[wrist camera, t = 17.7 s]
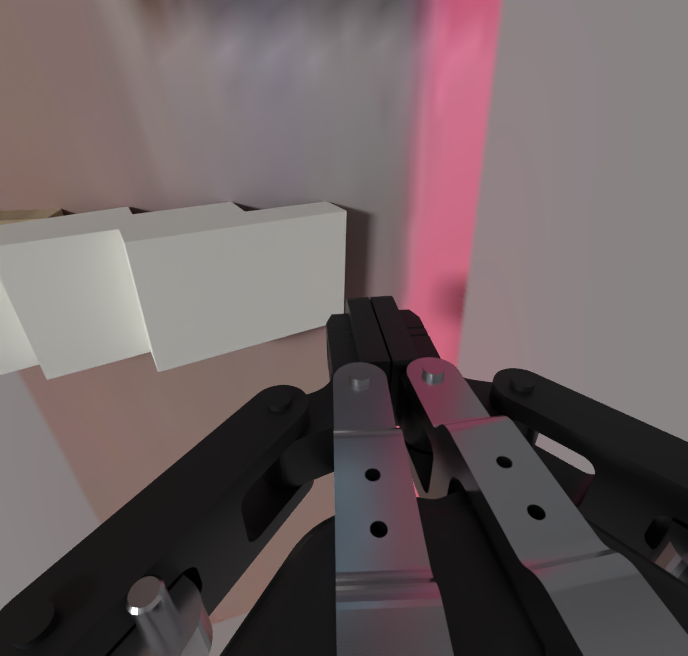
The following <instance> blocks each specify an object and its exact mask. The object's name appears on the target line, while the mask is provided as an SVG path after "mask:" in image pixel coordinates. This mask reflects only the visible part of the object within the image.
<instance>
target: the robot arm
mask: <svg viewBox="0 0 688 656" xmlns="http://www.w3.org/2000/svg"><path fill="white" fill-rule="evenodd" d="M326 334H327V360H328V369H329V377H330V382H329V383H328V384H327V385H326V386H325V387H323V388H322V389H320V390H318V391H316V392H313V393H310V394H307V395H306V394H305V393H304V392H303V391H302V390H301V389H299V388H297V387H294V386H289V385H278V386H273V387H269V388H267V389H264V390H263V391H261V392H259V393H258V394H257V395H256V396H254V397H253V398H252V399H251V400H250V401H248V402H247V403H246V404H245V405H244V406H242V407H241V408H240V409H239V410H238V411H237V412H235V413H234V414H233V415H232V416H231V417H229V418H228V419H227V420H226V421H225V422H223V423H222V424H221V425H220V426H219V427H217V428H216V429H215V430H214V431H213V432H211V433H210V434H209V435H208V436H207V437H205V438H204V439H203V440H202V441H201V442H199V443H198V444H197V445H196V446H195V447H193V448H192V449H191V450H190V451H189V452H188V453H186V454H185V455H184V456H183V457H182V458H180V459H179V460H178V461H177V462H176V463H174V464H173V465H172V466H171V467H170V468H168V469H167V470H166V471H165V472H164V473H162V474H161V475H160V476H159V477H158V478H156V479H155V480H154V481H153V482H152V483H150V484H149V485H148V486H147V487H146V488H144V489H143V490H142V491H141V492H140V493H139V494H137V495H136V496H135V497H134V498H133V499H131V500H130V501H129V502H128V503H127V504H125V505H124V506H123V507H122V508H121V509H119V510H118V511H117V512H116V513H115V514H113V515H112V516H111V517H110V518H109V519H107V520H106V521H105V522H104V523H103V524H101V525H100V526H99V527H98V528H97V529H95V530H94V531H93V532H92V533H91V534H90V535H88V536H87V537H86V538H85V539H84V540H82V541H81V542H80V543H79V544H78V545H76V546H75V547H74V548H73V549H72V550H70V551H69V552H68V553H67V554H66V555H64V556H63V557H62V558H61V559H60V560H58V561H57V562H56V563H55V564H54V565H52V566H51V567H50V568H49V569H48V570H47V571H45V572H44V573H43V574H42V575H41V576H39V577H38V578H37V579H36V580H35V581H33V582H32V583H31V584H30V585H29V586H27V587H26V588H25V589H24V590H23V591H21V592H20V593H19V594H18V595H17V596H16V597H14V598H13V599H12V600H11V601H10V602H9V603H8V604H7V605H5V606H4V607H3V608H2V609H1V611H0V656H208V655H209V652H210V649H211V646H212V639H213V631H212V625H211V622H210V619H209V616H210V614H211V613H212V612H213V611H214V609H215V608H216V607H217V606H218V604H219V603H220V602H221V601H222V599H223V598H224V597H225V596H226V594H227V593H228V592H229V591H230V589H231V588H232V587H233V586H234V584H235V583H236V582H237V581H238V579H239V578H240V577H241V576H242V574H243V573H244V572H245V571H246V569H247V568H248V567H249V566H250V564H251V563H252V562H253V561H254V559H255V558H256V557H257V556H258V554H259V553H260V552H261V551H262V549H263V548H264V547H265V546H266V544H267V543H268V542H269V541H270V539H271V538H272V537H273V536H274V534H275V533H276V532H277V531H278V529H279V528H280V527H281V526H282V524H283V523H284V522H285V521H286V519H287V518H288V517H289V516H290V514H291V513H292V512H293V511H294V509H295V508H296V507H297V506H298V504H299V503H300V502H301V501H302V499H303V498H304V497H305V496H306V494H307V493H308V492H309V491H310V489H311V488H312V485H313V482H314V479H317V478H319V477H322V476H324V475H327V474H329V473H331V472H334V490H335V515H334V516H332V517H330V518H328V519H326V520H324V521H323V522H321V523H320V524H318V525H317V526H315V527H314V528H313V529H311V530H310V531H309V532H308V533H307V534H306V535H305V536H304V537H303V538H302V539H301V540H300V541H299V542H298V543H297V544H296V546H295V547H294V548H293V550H292V551H291V552H290V554H289V555H288V557H287V558H286V560H285V561H284V563H283V564H282V566H281V567H280V568H279V570H278V571H277V573H276V574H275V576H274V577H273V579H272V580H271V582H270V583H269V584H268V586H267V587H266V589H265V590H264V592H263V593H262V595H261V596H260V598H259V599H258V601H257V602H256V603H255V605H254V606H253V608H252V609H251V611H250V612H249V614H248V615H247V617H246V618H245V619H244V621H243V622H242V624H241V626H240V627H239V628H238V630H237V631H236V633H235V634H234V635H233V637H232V638H231V640H230V641H229V643H228V644H227V646H226V647H225V649H224V650H223V652H222V653H221V655H220V656H688V442H687V441H684V440H682V439H680V438H678V437H675V436H673V435H671V434H669V433H667V432H664V431H662V430H660V429H658V428H655V427H653V426H651V425H649V424H647V423H644V422H642V421H640V420H638V419H635V418H633V417H631V416H629V415H626V414H624V413H622V412H620V411H618V410H615V409H613V408H611V407H609V406H606V405H604V404H602V403H600V402H597V401H595V400H593V399H591V398H588V397H586V396H584V395H582V394H580V393H578V392H575V391H573V390H571V389H569V388H566V387H564V386H562V385H559V384H557V383H555V382H553V381H551V380H549V379H546V378H544V377H542V376H539V375H538V374H535V373H533V372H530V371H527V370H523V369H516V368H510V369H504V370H501V371H499V372H497V373H496V375H495V376H494V378H493V382H485V381H478V380H471V379H466V378H464V377H463V376H462V375H461V373H460V372H459V370H458V369H457V368H456V367H455V366H454V365H453V364H451V363H450V362H448V361H446V360H443V359H441V358H440V356H439V354H438V352H437V350H436V348H435V347H434V345H433V343H432V341H431V339H430V337H429V336H428V333H427V331H426V329H425V328H424V325H423V323H422V322H421V320H420V318H419V317H418V316H417V315H416V314H414V313H413V312H412V311H410V310H398V307H397V305H396V303H395V301H394V299H393V297H392V296H380V297H369V298H368V297H364V298H347V299H346V314H331V316H330V318H329V319H328V321H327V323H326ZM396 426H399V427H400V428H396ZM539 433H541V434H543V435H545V436H547V437H548V438H550V439H552V440H554V441H556V442H558V443H559V444H562V445H563V446H565V447H567V448H569V449H571V450H573V451H575V452H576V453H578V454H580V455H582V456H584V457H585V458H586V459H588V460H589V461H590V462H591V464H592V465H593V467H594V469H595V474H587V473H585V472H583V471H581V470H579V469H577V468H575V467H574V466H572V465H570V464H568V463H566V462H565V461H563V460H561V459H559V458H557V457H556V456H554V455H552V454H550V453H549V452H546V451H545V450H543V449H541V448H540V447H538V446H536V445H535V443H536V440H537V437H538V434H539ZM412 479H413V480H412ZM413 482H414V484H415V487H416V489H417V492H418V495H419V497H420V498H419V497H416V495H415V490H414V485H413Z"/></svg>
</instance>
